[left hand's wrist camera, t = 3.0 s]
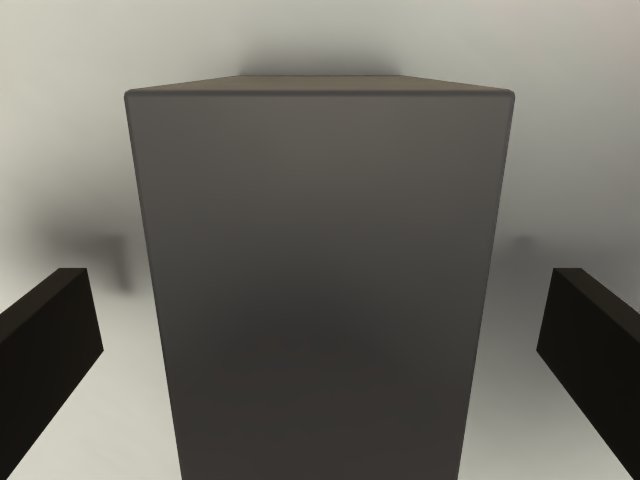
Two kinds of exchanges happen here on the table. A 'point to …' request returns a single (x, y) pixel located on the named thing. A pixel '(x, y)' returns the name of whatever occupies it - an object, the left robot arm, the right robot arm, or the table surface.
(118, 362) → the table surface
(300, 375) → the post
